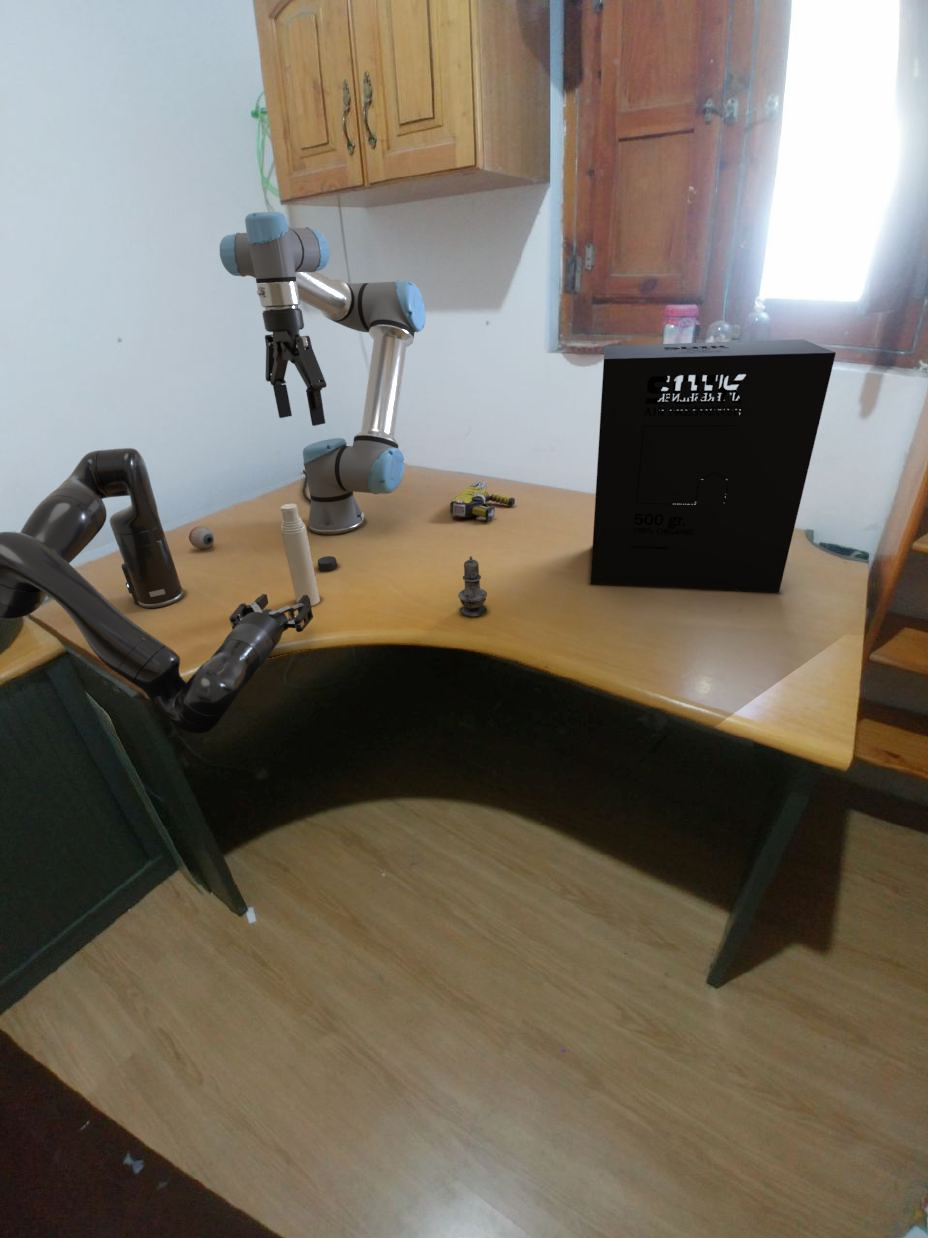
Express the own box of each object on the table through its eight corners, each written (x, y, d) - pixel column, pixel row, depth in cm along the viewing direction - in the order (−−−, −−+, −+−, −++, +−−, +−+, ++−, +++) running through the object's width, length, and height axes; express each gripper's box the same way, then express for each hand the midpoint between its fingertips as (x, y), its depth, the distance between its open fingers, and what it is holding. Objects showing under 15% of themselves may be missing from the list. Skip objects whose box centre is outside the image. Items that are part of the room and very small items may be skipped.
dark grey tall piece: (485, 617, 120) (483, 562, 114) (456, 616, 121) (452, 561, 115) (490, 603, 125) (488, 550, 119) (462, 602, 126) (459, 549, 120)
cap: (320, 564, 147) (319, 556, 146) (338, 563, 147) (337, 555, 146) (317, 572, 143) (315, 564, 142) (335, 571, 143) (334, 563, 142)
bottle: (314, 594, 133) (296, 500, 122) (323, 602, 130) (305, 506, 119) (293, 600, 131) (272, 505, 120) (301, 609, 127) (281, 512, 116)
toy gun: (523, 485, 181) (476, 478, 185) (501, 509, 161) (448, 500, 165) (521, 500, 184) (475, 493, 187) (499, 525, 163) (447, 517, 167)
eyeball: (203, 554, 156) (196, 532, 153) (187, 550, 159) (181, 528, 156) (222, 546, 160) (216, 524, 157) (206, 542, 163) (200, 521, 160)
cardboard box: (758, 552, 140) (802, 339, 117) (778, 592, 123) (835, 352, 100) (592, 546, 147) (604, 345, 125) (590, 583, 130) (603, 358, 108)
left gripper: (218, 659, 108) (256, 614, 122) (293, 661, 106) (324, 615, 120) (207, 623, 104) (248, 580, 118) (285, 625, 102) (317, 582, 116)
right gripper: (234, 309, 123) (257, 416, 134) (297, 309, 107) (317, 431, 117) (268, 306, 127) (287, 410, 138) (332, 306, 111) (349, 424, 122)
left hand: (286, 598), depth 119 cm, fingers open, 8 cm apart
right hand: (301, 420), depth 128 cm, fingers open, 13 cm apart
